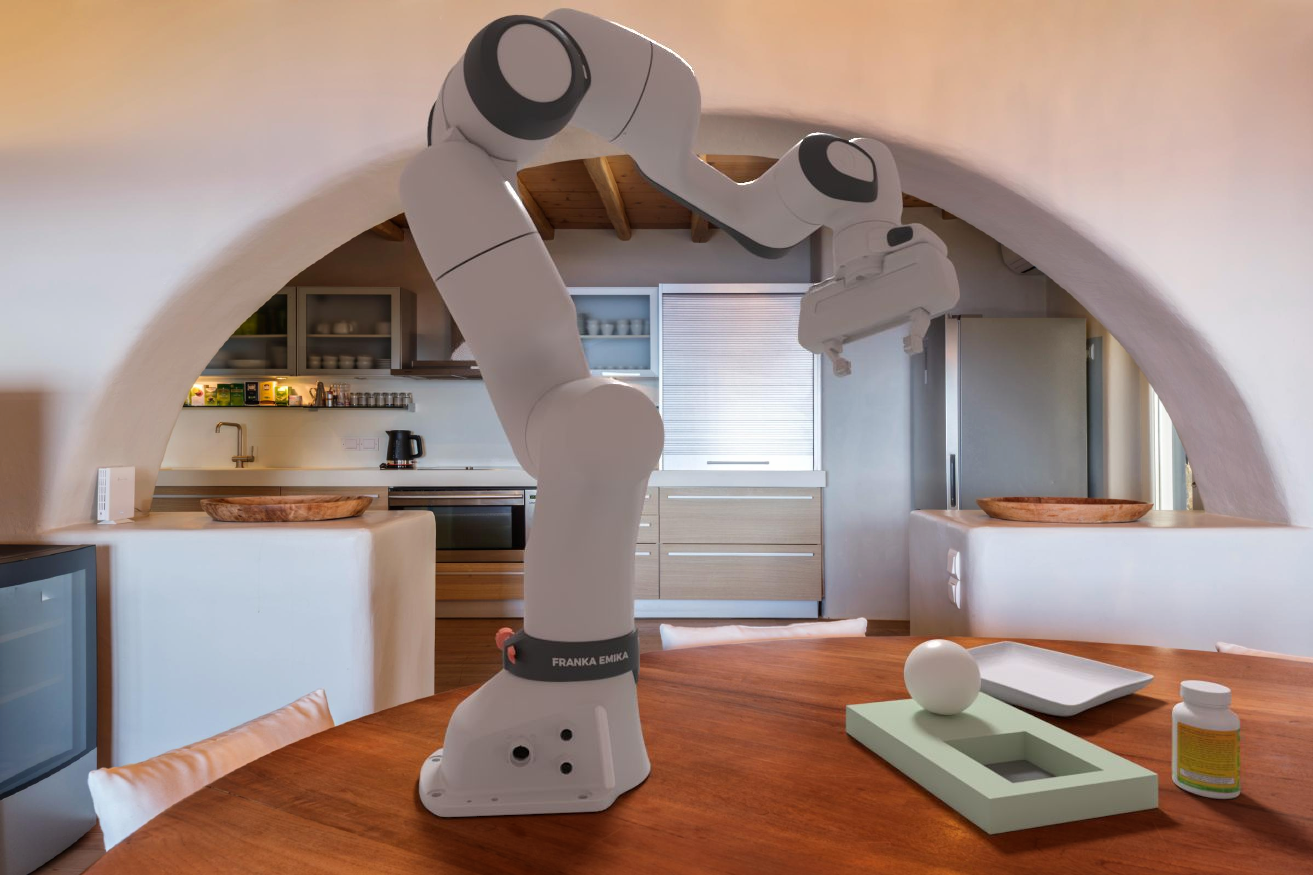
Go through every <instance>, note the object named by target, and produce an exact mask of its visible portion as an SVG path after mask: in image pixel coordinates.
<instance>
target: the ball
mask: <svg viewBox="0 0 1313 875" xmlns="http://www.w3.org/2000/svg"><path fill="white" fill-rule="evenodd" d="M903 667H904V670H903V677H904V684H905V687H906V690H907V692H908V694H909V695H910V697H911V699H914V700H915V701H916V703H918V704H919V705H920V706H921V707H923V708H924V709H926V710H928V711H930V712H932V713H935V714H940V715H953V714H957V713H960V712H962V711H964V710H966V709H967V708H968V707H970V706H971V705H972V704H973V702H974V701H975V700H976V698H977V696H978V694H979V691H980V686H981V675H980V671H979V668H978V665H977V663H976V661H975V660H974V658H973V657H972V655H971V654H970V653H969V652H968V651H967V650H966V648H965V647H963V646H962V645H960V644H958V643H956V642H953V641H951V640H949V639H947V640H946V639H942V638H941V639H940V638H939V639H938V638H937V639H936V638H935V639H931V640H927V641H925V642H922V643H920V644H918V645H917V646H916V647H914V648H913V649H912V651H910V653H909V655H908V657H906V661H905V663H904V666H903Z"/></svg>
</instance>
